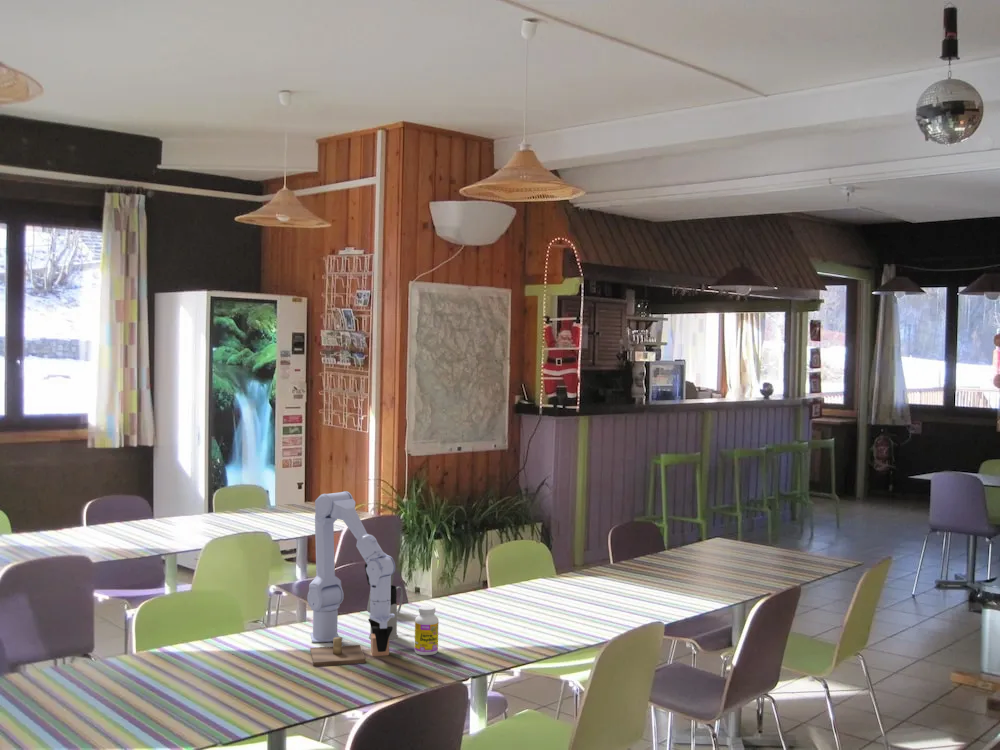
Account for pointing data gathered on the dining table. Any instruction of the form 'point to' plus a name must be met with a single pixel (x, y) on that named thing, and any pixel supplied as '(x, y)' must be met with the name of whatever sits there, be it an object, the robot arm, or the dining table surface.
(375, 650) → the peach tilted cube
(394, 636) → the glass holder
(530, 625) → the dining table surface
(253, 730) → the dining table surface
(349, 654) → the post base
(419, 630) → the supplement bottle
